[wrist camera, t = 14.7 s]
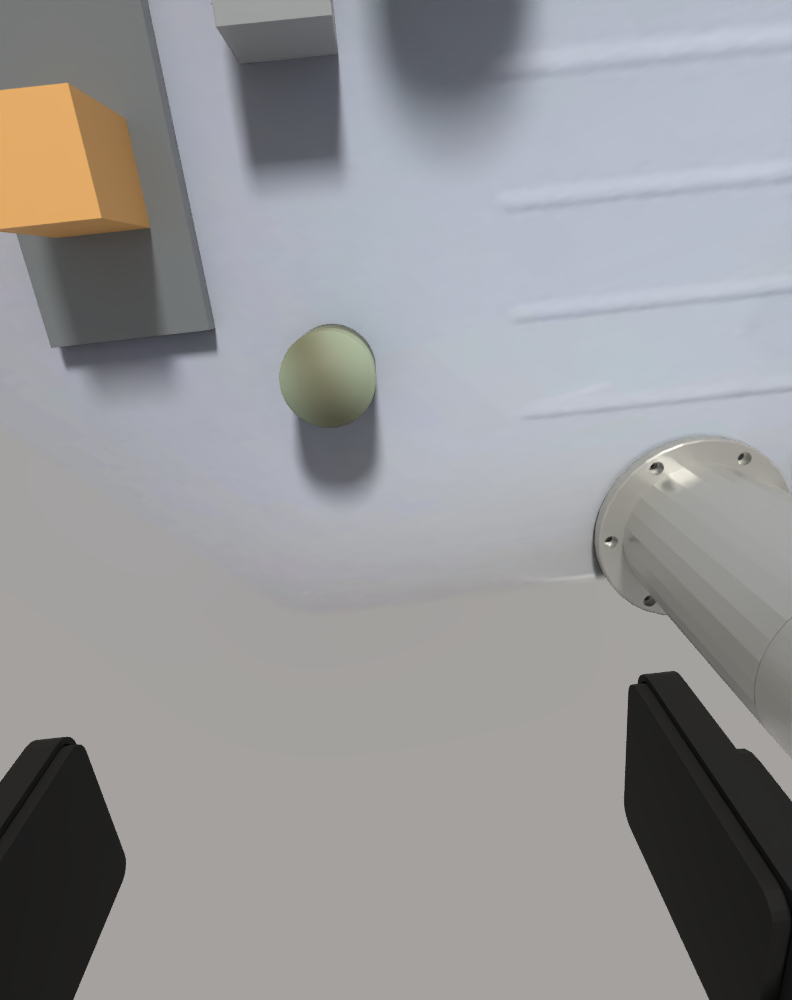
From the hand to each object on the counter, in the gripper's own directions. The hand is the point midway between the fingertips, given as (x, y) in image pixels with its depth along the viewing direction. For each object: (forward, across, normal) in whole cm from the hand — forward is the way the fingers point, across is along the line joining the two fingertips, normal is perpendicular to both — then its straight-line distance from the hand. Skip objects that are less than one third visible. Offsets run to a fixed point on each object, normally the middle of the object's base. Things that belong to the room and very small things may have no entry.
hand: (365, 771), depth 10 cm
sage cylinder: (+28, +2, -3) cm, 29 cm away
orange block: (+27, +13, -14) cm, 33 cm away
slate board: (+28, +13, -14) cm, 34 cm away
